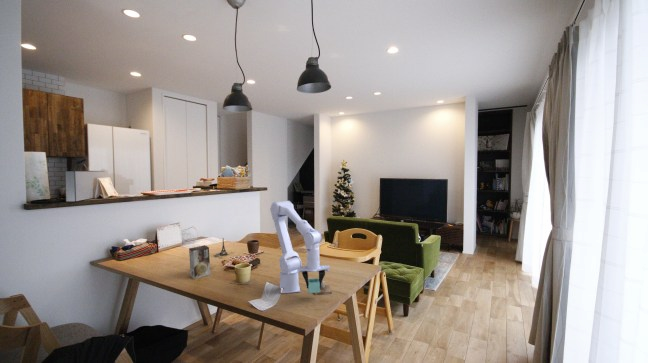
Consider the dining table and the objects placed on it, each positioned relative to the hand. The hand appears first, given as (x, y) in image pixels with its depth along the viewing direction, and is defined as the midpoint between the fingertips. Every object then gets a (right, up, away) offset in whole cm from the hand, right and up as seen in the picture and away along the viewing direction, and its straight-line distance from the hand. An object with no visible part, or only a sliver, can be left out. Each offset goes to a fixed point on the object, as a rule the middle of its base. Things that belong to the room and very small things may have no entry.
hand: (313, 287), depth 131 cm
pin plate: (+4, -5, +9) cm, 11 cm away
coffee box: (-66, -6, +32) cm, 73 cm away
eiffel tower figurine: (-66, -4, +72) cm, 98 cm away
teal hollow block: (0, -1, 0) cm, 1 cm away
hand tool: (-41, -5, +43) cm, 59 cm away
